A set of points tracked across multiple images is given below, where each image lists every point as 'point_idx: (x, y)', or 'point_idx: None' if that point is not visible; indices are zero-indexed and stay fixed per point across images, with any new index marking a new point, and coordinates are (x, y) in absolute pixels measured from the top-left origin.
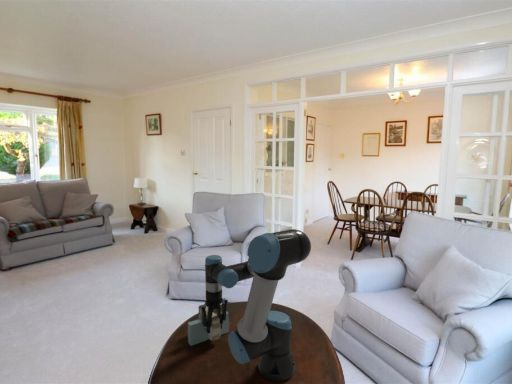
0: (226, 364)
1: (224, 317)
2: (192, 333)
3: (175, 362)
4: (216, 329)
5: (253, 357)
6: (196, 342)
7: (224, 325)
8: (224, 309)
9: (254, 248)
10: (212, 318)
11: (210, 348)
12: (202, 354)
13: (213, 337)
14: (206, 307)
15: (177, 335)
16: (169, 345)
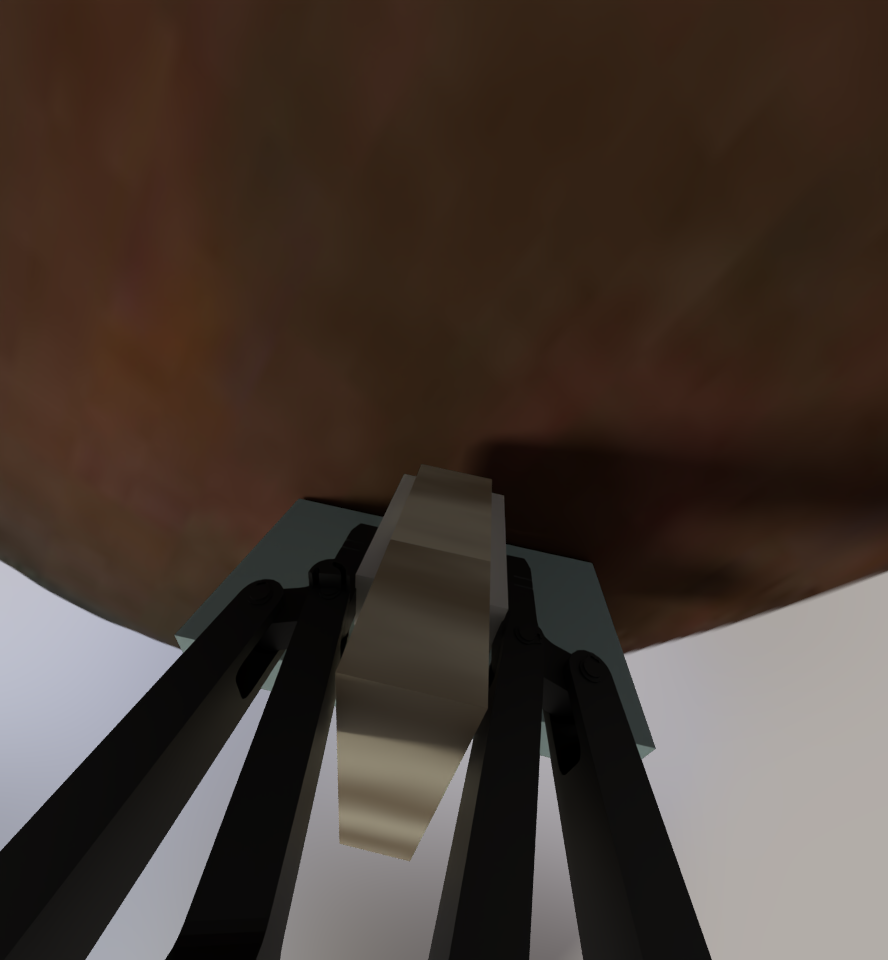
0: (598, 105)
1: (241, 626)
2: (601, 643)
3: (814, 512)
4: (438, 540)
5: None
6: (551, 561)
7: (300, 550)
8: (75, 847)
9: None
10: (446, 732)
11: (515, 454)
12: (613, 442)
13: (484, 496)
14: (358, 828)
15: None
16: (660, 640)
